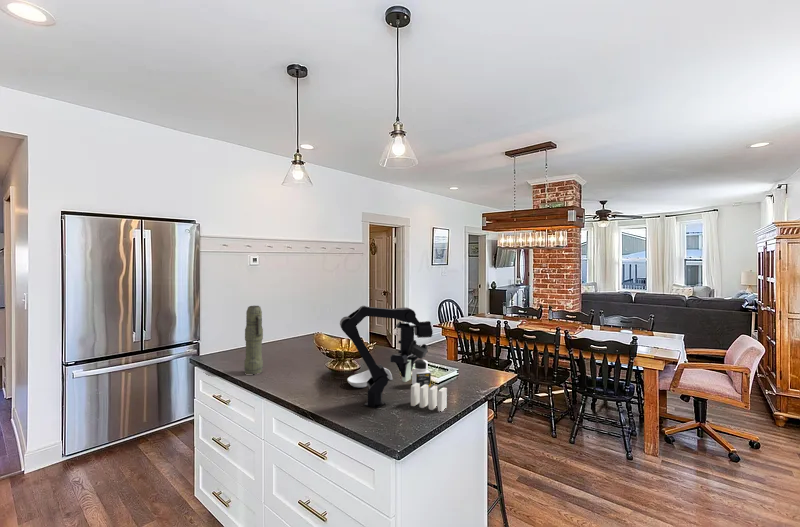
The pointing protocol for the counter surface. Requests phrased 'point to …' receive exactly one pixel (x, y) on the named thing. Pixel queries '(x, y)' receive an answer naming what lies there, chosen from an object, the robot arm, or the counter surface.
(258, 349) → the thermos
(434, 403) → the domino
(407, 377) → the pale green domino
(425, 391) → the domino
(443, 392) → the domino
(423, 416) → the counter surface
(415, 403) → the domino
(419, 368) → the medicine bottle
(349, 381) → the spoon rest
